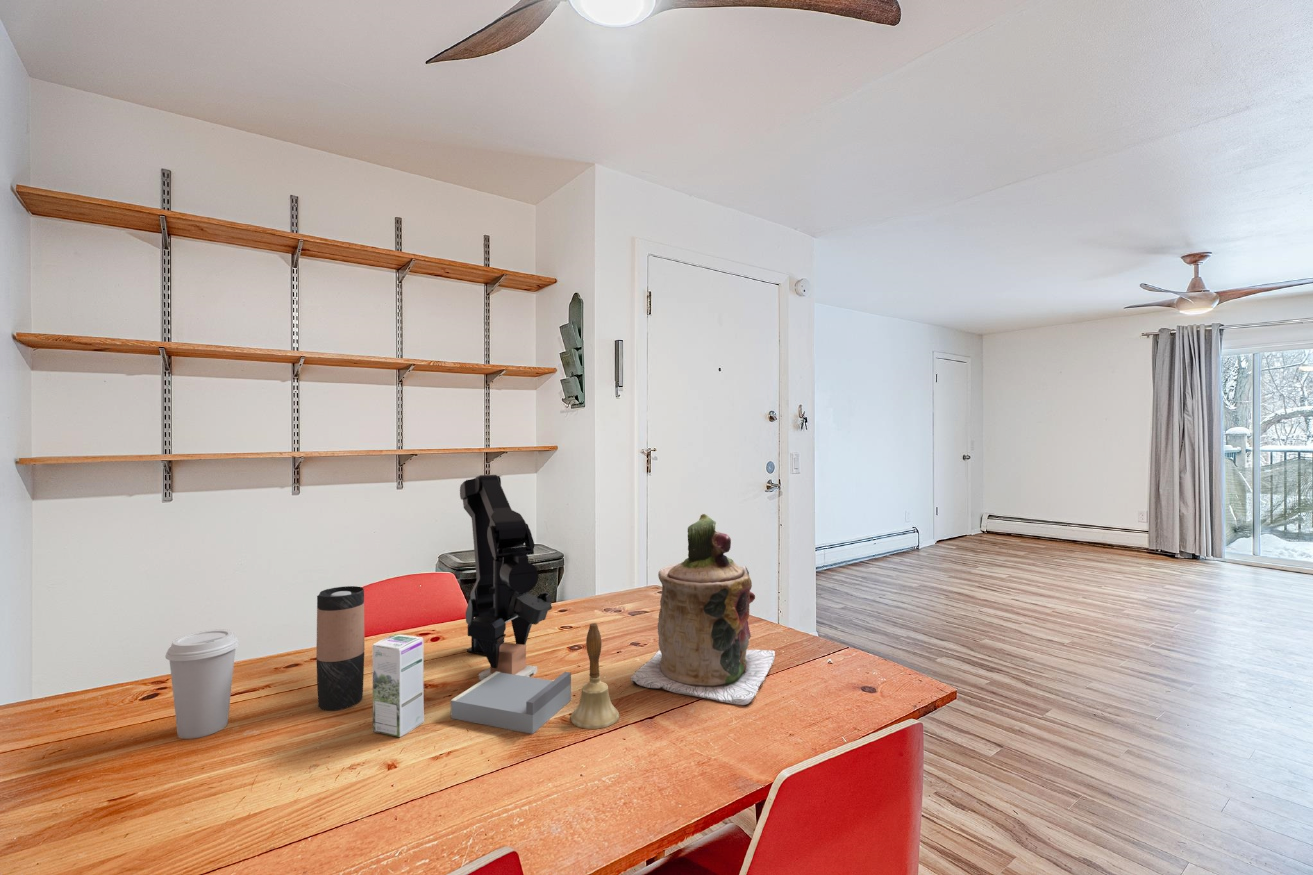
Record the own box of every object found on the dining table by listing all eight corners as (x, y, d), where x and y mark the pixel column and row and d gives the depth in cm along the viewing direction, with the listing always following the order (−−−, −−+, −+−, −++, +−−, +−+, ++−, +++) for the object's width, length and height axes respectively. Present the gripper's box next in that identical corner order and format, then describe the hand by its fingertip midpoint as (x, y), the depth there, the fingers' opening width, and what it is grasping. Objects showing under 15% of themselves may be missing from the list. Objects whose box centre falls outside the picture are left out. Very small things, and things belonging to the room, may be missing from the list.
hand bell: (592, 734, 93) (592, 635, 93) (560, 718, 99) (560, 624, 99) (629, 716, 99) (629, 623, 99) (597, 701, 105) (597, 613, 105)
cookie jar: (625, 687, 111) (625, 520, 112) (670, 645, 134) (670, 506, 134) (752, 709, 102) (752, 527, 102) (778, 660, 125) (777, 511, 125)
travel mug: (373, 697, 107) (373, 588, 107) (335, 715, 100) (335, 598, 100) (345, 689, 110) (345, 584, 110) (306, 706, 103) (306, 593, 103)
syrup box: (425, 722, 97) (425, 635, 97) (399, 739, 92) (399, 647, 92) (398, 716, 99) (398, 631, 99) (370, 733, 94) (370, 643, 94)
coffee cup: (156, 749, 89) (157, 651, 89) (174, 722, 97) (174, 633, 97) (233, 734, 93) (233, 641, 93) (243, 710, 102) (243, 624, 102)
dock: (450, 718, 99) (450, 688, 99) (496, 687, 111) (496, 661, 111) (532, 733, 93) (532, 702, 93) (570, 699, 106) (570, 672, 106)
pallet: (478, 680, 115) (478, 650, 115) (499, 667, 121) (499, 639, 121) (517, 686, 112) (517, 656, 112) (537, 673, 118) (537, 644, 118)
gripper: (516, 597, 105) (516, 683, 105) (566, 574, 123) (566, 648, 123) (465, 591, 109) (465, 674, 109) (520, 570, 126) (520, 642, 126)
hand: (508, 659), depth 117 cm, fingers open, 9 cm apart
